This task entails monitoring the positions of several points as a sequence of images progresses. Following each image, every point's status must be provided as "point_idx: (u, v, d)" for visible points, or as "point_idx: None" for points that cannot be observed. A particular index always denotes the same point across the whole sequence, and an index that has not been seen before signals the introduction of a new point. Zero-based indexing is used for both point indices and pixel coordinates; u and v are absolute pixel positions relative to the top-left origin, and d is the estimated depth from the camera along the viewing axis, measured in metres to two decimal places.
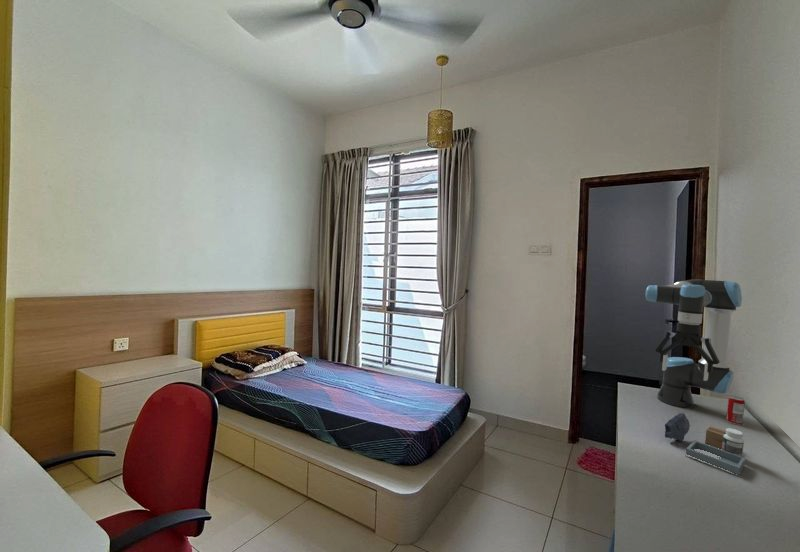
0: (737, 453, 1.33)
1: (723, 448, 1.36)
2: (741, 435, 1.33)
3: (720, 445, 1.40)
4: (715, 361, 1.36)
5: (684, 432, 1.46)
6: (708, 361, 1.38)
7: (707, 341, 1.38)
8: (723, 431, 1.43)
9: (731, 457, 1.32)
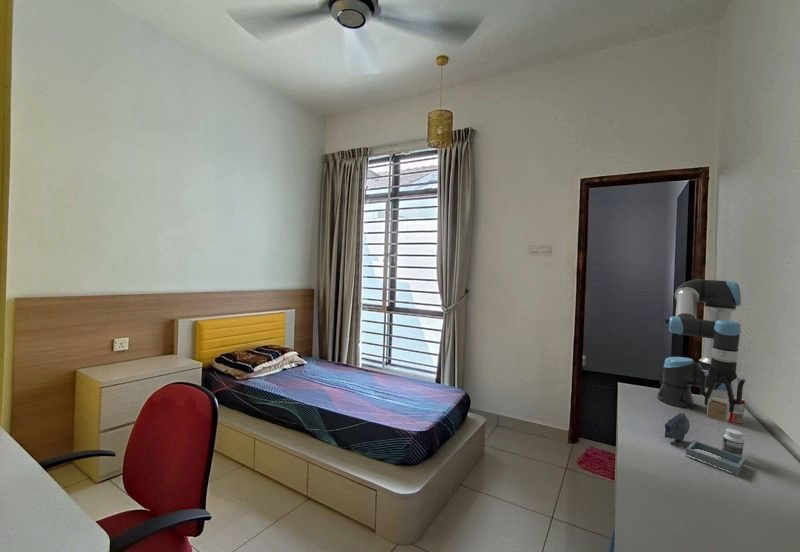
0: (737, 453, 1.33)
1: (723, 448, 1.36)
2: (741, 435, 1.33)
3: (723, 417, 1.40)
4: (738, 402, 1.38)
5: (684, 432, 1.46)
6: (731, 401, 1.39)
7: (742, 383, 1.37)
8: (726, 403, 1.43)
9: (731, 457, 1.32)
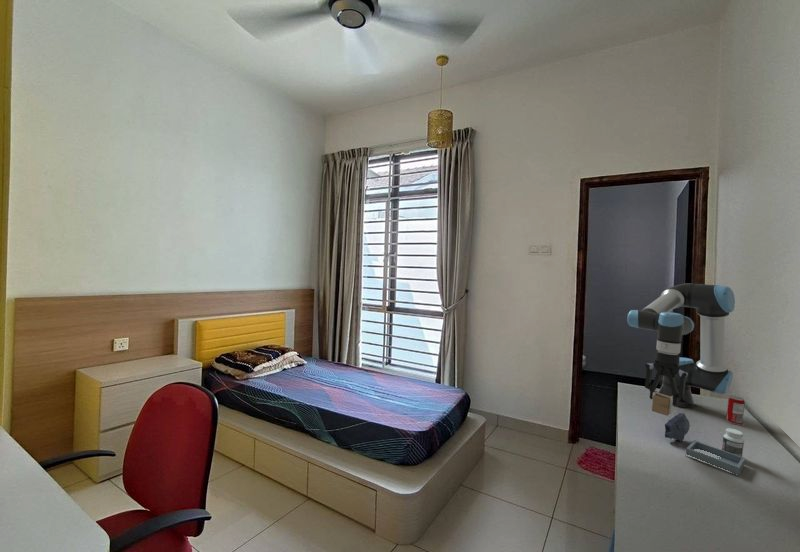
0: (737, 453, 1.33)
1: (723, 448, 1.36)
2: (741, 435, 1.33)
3: (666, 411, 1.37)
4: (680, 395, 1.35)
5: (684, 432, 1.46)
6: (674, 394, 1.37)
7: (684, 375, 1.34)
8: None
9: (731, 457, 1.32)
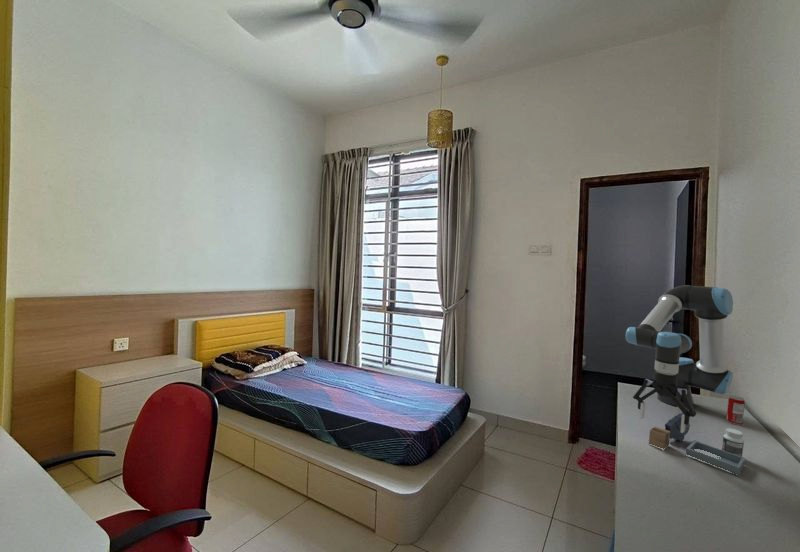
0: (737, 453, 1.33)
1: (723, 448, 1.36)
2: (741, 435, 1.33)
3: (662, 446, 1.38)
4: (692, 414, 1.33)
5: (684, 432, 1.46)
6: (685, 413, 1.34)
7: (683, 392, 1.34)
8: (666, 431, 1.41)
9: (731, 457, 1.32)
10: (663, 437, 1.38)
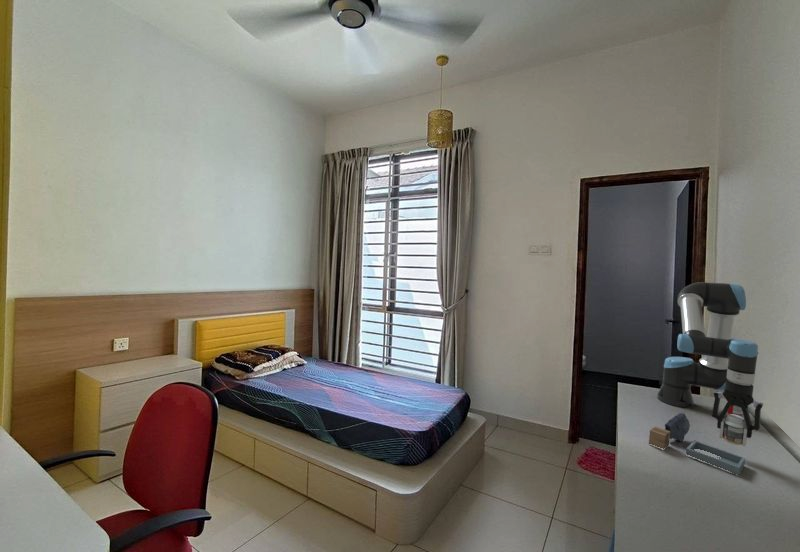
0: (738, 438, 1.33)
1: (724, 433, 1.36)
2: (742, 420, 1.33)
3: (662, 446, 1.38)
4: (756, 427, 1.30)
5: (684, 432, 1.46)
6: (748, 426, 1.31)
7: (759, 407, 1.29)
8: (666, 431, 1.41)
9: (731, 457, 1.32)
10: (663, 437, 1.38)
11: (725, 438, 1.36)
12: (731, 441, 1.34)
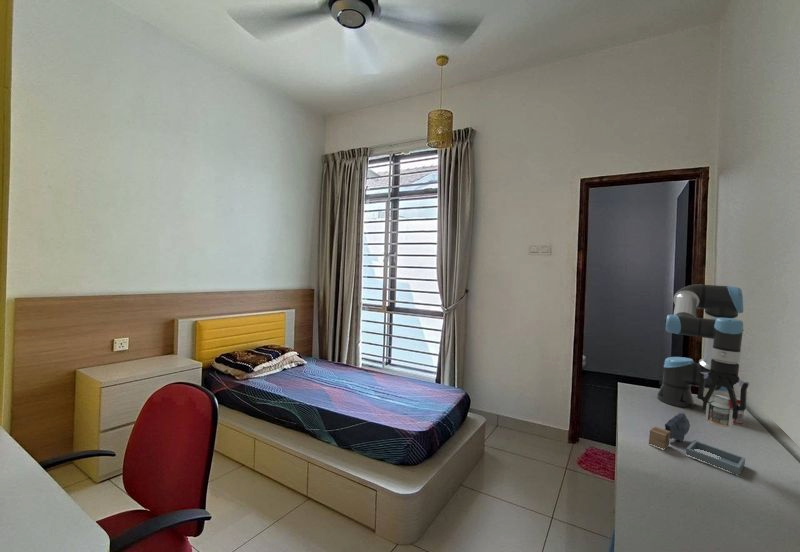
0: (724, 419, 1.28)
1: (710, 415, 1.31)
2: (728, 401, 1.28)
3: (662, 446, 1.38)
4: (742, 407, 1.25)
5: (684, 432, 1.46)
6: (734, 407, 1.27)
7: (745, 386, 1.24)
8: (667, 431, 1.41)
9: (731, 457, 1.32)
10: (663, 437, 1.38)
11: (711, 420, 1.31)
12: (717, 423, 1.29)
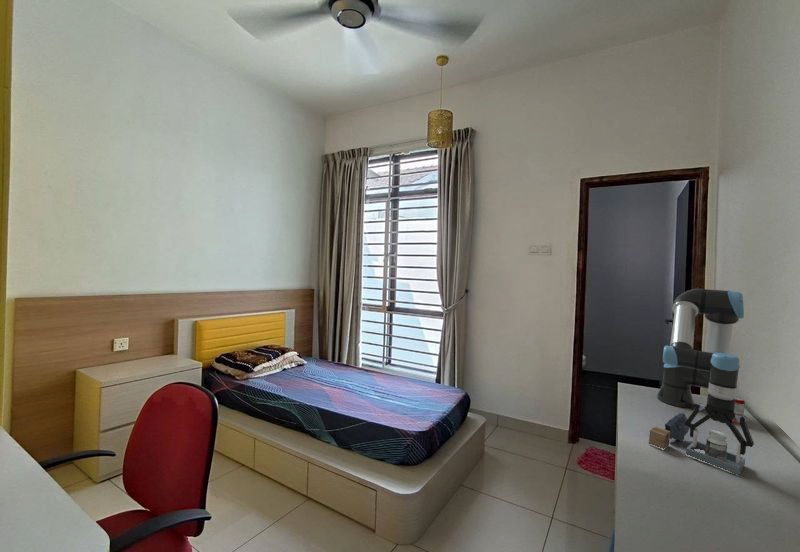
0: (720, 456, 1.29)
1: (706, 451, 1.32)
2: (724, 437, 1.29)
3: (662, 446, 1.38)
4: (749, 443, 1.24)
5: (684, 432, 1.46)
6: (741, 442, 1.25)
7: (742, 420, 1.25)
8: (666, 431, 1.41)
9: (731, 457, 1.32)
10: (663, 437, 1.38)
11: None
12: None
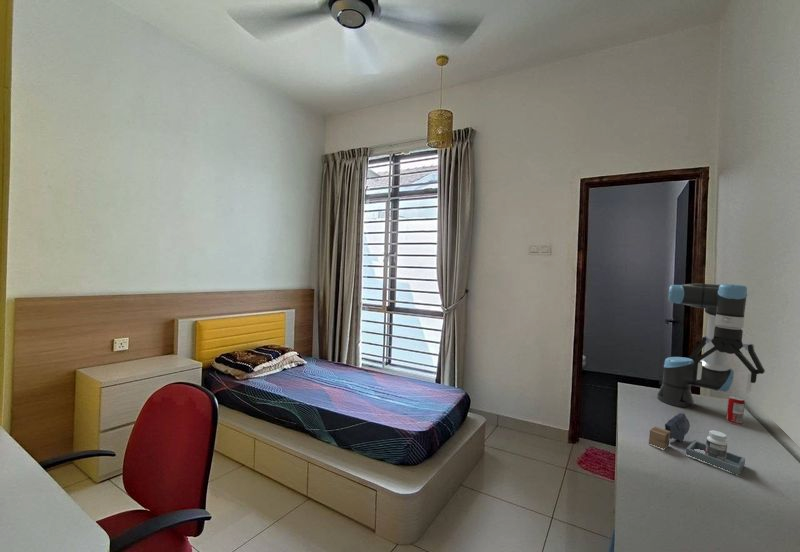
0: (720, 456, 1.29)
1: (706, 451, 1.32)
2: (724, 437, 1.29)
3: (662, 446, 1.38)
4: (760, 370, 1.21)
5: (684, 432, 1.46)
6: (752, 370, 1.23)
7: (750, 348, 1.23)
8: (666, 431, 1.41)
9: (731, 457, 1.32)
10: (663, 437, 1.38)
11: None
12: None
